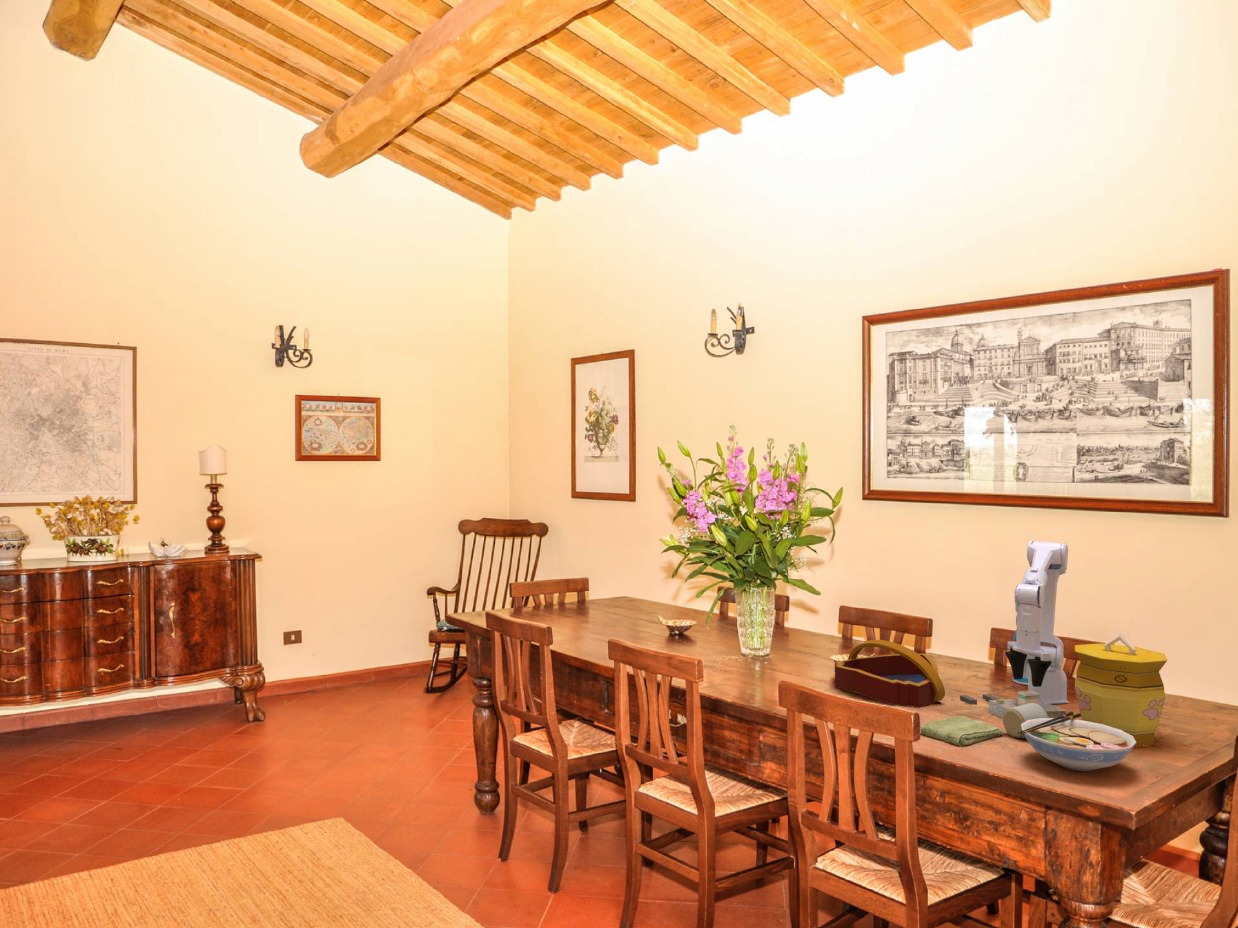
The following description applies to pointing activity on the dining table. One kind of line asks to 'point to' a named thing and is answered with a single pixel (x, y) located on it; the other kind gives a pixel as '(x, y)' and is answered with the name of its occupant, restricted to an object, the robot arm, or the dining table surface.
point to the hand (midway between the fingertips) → (1027, 682)
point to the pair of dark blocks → (974, 701)
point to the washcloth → (960, 730)
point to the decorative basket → (891, 675)
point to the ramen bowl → (1077, 742)
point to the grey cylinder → (1021, 717)
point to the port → (1002, 706)
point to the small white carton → (1027, 697)
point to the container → (1121, 687)
